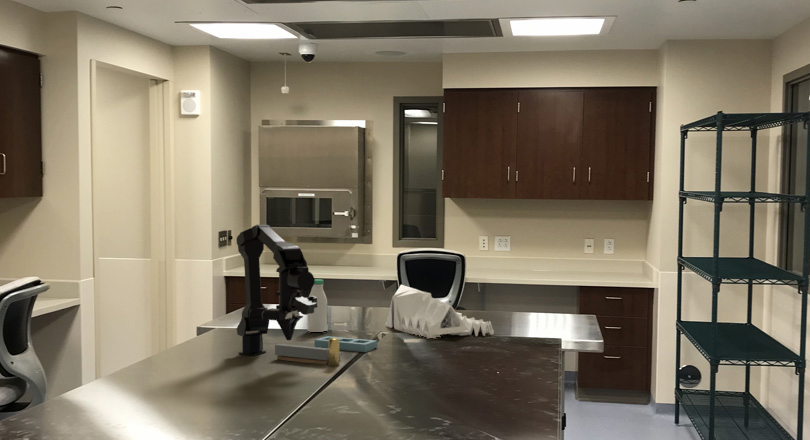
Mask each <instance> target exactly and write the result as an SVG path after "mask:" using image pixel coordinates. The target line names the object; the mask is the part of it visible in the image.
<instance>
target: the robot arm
mask: <svg viewBox="0 0 810 440" xmlns="http://www.w3.org/2000/svg"><path fill="white" fill-rule="evenodd" d="M236 245H237V248H238V249H237V251H238V253H239V254H240V255H241V257H242V258H243V263H244V264H243V265H244V280H245V281H244V282H245V283H244V285H245V302H246V303H245V306H244V307H243V309H242V311H241V319H240V321H239V323H238V325H237V327H236V334H237V336H240V337H242V341H241V342H242V344H241V345H242V346H241V347H242V349H241V350H242V351H239V352H238V355H246V356H257V355H261V354H264V353H267V350H264V342H263V341H264V340H263V335H267V334H268V331H269V325H270V321H276V322H277V324H278V325H279V327H280V329H281V331H282V334H283V335H284V338H285V340H286V341H291V340H292V338H293V335H294V333H295V329H296V327H297V326H296V325H297V324H298V322H299V321H300V320H301V319H303V317H304V315H305V316H307V315H308V314H310V313H311V314H312V313H314V308H317V307H318V306H317V298H316V297H314V296H311V297H309V296H308V297H305V296H303V291H304V292H308V291H311V290H312V287H313V285H314V282H315V277H314V275H313V273H312V272H310V271H309V267H308V265H307V264H308V262H307V261H306V259H305V256H304V254H303V251H302V249H301V248H300V247H299V245H296V244H294V243H290V242H288V241H285V240H284V239H283V238H282V237H281V236H280V235H279V234H277V233H276V232H275V231H274V230H273V229H272V227H271V225H268V224H256V225H253V226H252V227H250V228H248V229H245V230H243V231H241V232H240V233H239V234H238V235H237V237H236ZM265 246H266V247H267V249H269V250H270V251H271V252H272V254H273V255H272V256H273V257H272V259H274V260H273V261H275V263H276V264H277V265H278V267H277V268H276V270H275V272H276V273H278V291H275V295H276V296H278V305H277V304H276V306H275V307H274V308H273V307H272V308H268V307H266V306H265V305H264V304H263V300H262V286H261V283H262V282H261V267H260V258H261V256H262V254H263V252H264V250H265ZM300 313H301V314H302V315H300Z"/></svg>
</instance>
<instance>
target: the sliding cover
mask: <svg viewBox="0 0 810 440" xmlns="http://www.w3.org/2000/svg"><path fill="white" fill-rule="evenodd" d="M274 355H275V356H279V355H280V356H289V357H298V358H308V359H317V360H329V349H328V348H318V347H315V346H305V345H298V344H296V345H295V344H287V343H286V344H285V343H276V344H274ZM342 355H343V352H340V351H339V357H341V356H342Z"/></svg>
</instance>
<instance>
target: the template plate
mask: <svg viewBox="0 0 810 440" xmlns="http://www.w3.org/2000/svg"><path fill="white" fill-rule="evenodd" d="M276 358H277V359H276V360H280V361H281V360H282V361H288V362H289V361H291V362H300V363H306V364H307V363H308V364H317V365H324V366H326V365H329V360H317V359H308V358H298V357H289V356H280V355H276ZM340 360H341V356H339V361H340Z"/></svg>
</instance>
